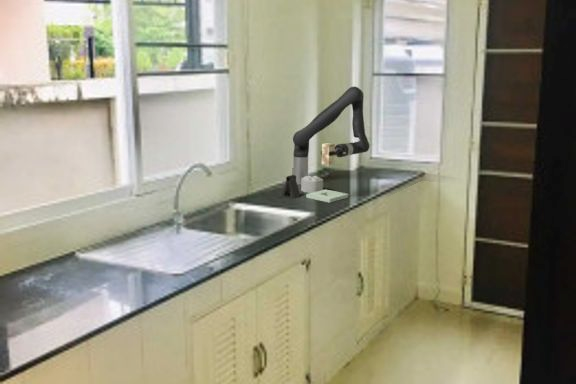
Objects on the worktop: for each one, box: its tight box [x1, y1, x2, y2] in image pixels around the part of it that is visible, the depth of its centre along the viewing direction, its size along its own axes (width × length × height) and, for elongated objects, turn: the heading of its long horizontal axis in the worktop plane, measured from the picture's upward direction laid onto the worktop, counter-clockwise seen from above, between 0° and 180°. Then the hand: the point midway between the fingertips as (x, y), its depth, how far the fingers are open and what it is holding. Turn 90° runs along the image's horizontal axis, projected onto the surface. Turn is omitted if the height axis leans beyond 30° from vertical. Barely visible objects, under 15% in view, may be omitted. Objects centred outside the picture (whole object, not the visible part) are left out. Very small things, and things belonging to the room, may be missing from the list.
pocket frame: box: [305, 189, 349, 203], centre depth 343 cm, size 17×17×2 cm
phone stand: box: [281, 174, 301, 199], centre depth 345 cm, size 9×6×12 cm, turn 56°
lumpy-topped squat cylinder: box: [300, 175, 324, 194], centre depth 360 cm, size 10×13×9 cm
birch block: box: [321, 142, 336, 167], centre depth 338 cm, size 5×5×12 cm
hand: (325, 153), depth 336 cm, fingers closed on birch block, 5 cm apart
